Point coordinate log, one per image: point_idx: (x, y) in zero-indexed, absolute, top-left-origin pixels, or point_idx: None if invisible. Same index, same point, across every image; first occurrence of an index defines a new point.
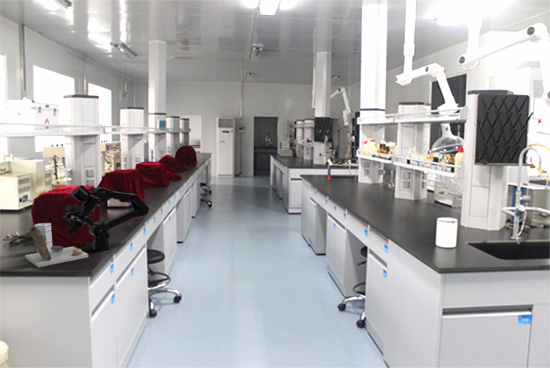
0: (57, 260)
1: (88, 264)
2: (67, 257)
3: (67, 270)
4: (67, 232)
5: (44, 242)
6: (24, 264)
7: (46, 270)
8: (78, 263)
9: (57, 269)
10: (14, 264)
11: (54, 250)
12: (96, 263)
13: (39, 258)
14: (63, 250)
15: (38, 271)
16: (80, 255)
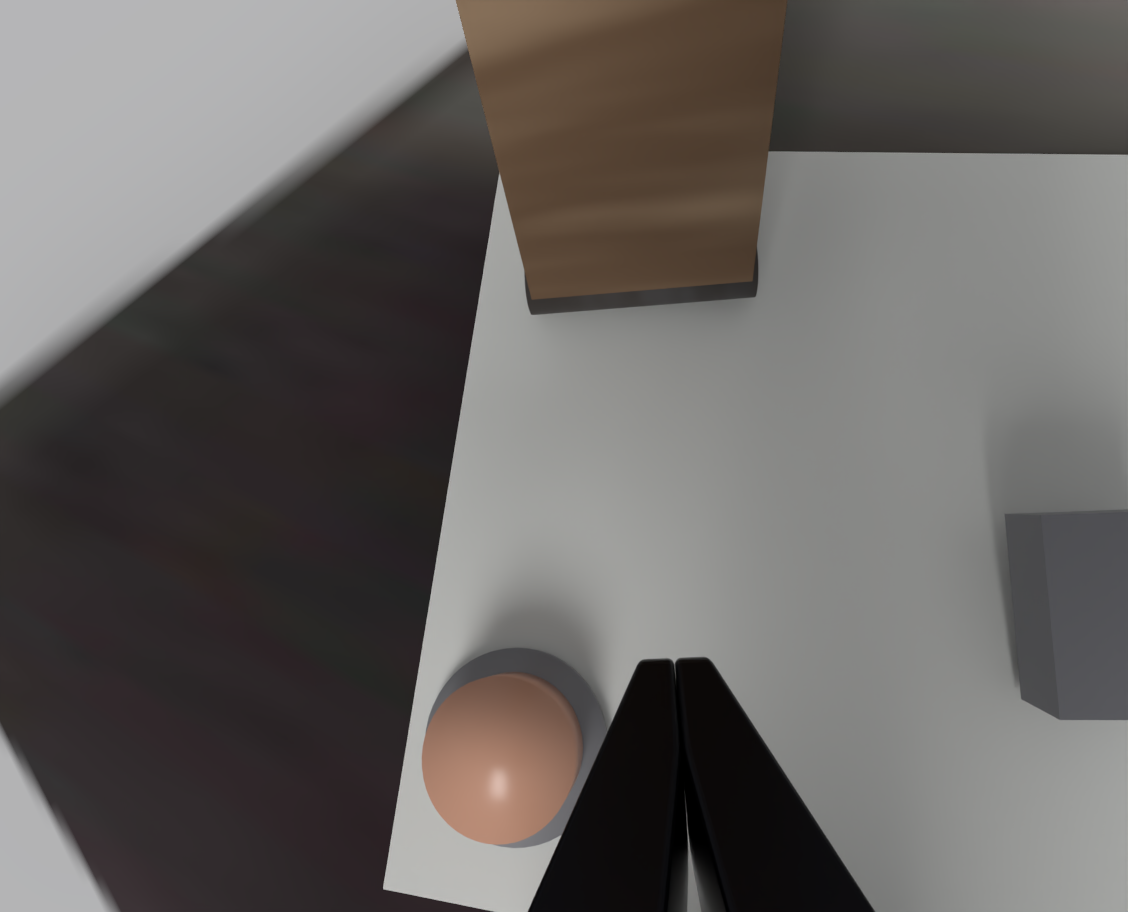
0: (468, 385)
1: (77, 647)
2: (479, 543)
3: (100, 360)
4: (632, 682)
5: (463, 11)
6: (791, 104)
7: (307, 206)
8: (233, 582)
9: (234, 300)
10: (897, 23)
11: (1009, 532)
12: (18, 746)
13: (779, 243)
14: (1042, 726)
15: (348, 139)
16: (413, 744)
